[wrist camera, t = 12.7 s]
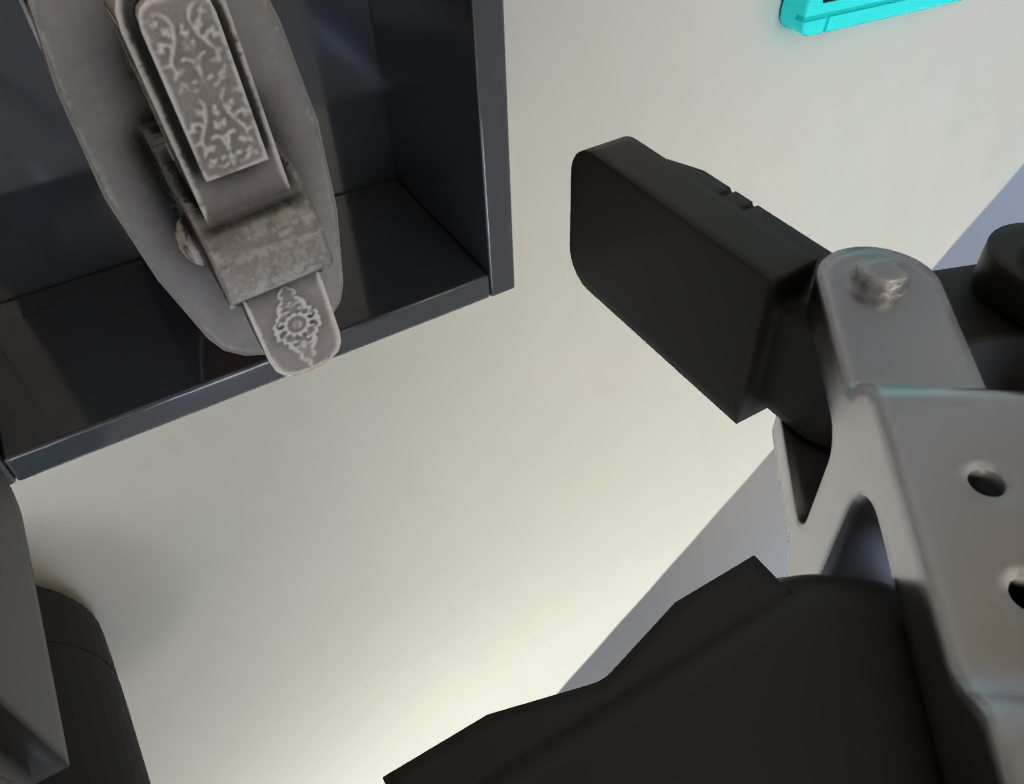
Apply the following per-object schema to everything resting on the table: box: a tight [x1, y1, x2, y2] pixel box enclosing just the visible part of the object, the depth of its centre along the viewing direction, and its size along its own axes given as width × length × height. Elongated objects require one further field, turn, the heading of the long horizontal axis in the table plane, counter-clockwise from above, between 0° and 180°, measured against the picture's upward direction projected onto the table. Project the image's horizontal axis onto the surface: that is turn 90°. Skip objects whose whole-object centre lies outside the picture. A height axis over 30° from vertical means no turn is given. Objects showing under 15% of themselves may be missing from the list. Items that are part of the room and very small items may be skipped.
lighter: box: [19, 0, 343, 376], centre depth 14 cm, size 8×3×10 cm, turn 6°
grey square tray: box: [0, 0, 514, 485], centre depth 16 cm, size 12×13×6 cm
